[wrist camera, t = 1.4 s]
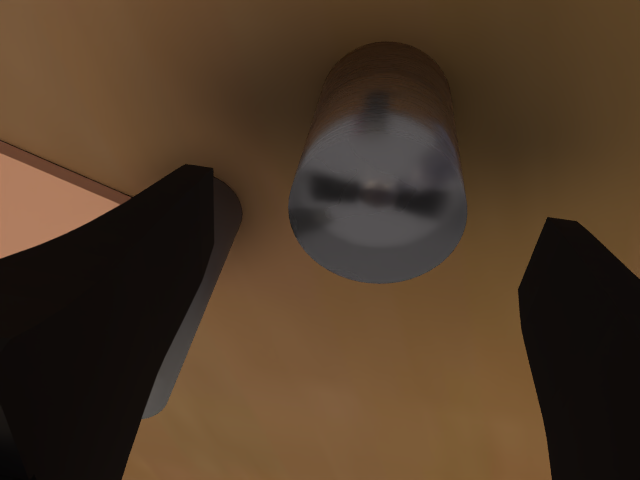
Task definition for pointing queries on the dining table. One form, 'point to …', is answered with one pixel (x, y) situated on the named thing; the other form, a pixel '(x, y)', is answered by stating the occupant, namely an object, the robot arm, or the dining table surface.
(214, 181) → the post corner
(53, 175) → the tile
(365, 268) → the shiny metal cylinder
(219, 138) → the dining table surface
